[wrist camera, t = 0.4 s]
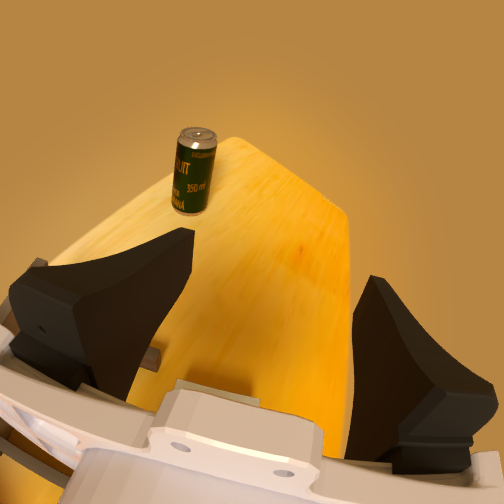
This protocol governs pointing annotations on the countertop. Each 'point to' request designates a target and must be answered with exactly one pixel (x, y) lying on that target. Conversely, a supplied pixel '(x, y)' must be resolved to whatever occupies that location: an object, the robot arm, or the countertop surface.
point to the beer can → (193, 170)
